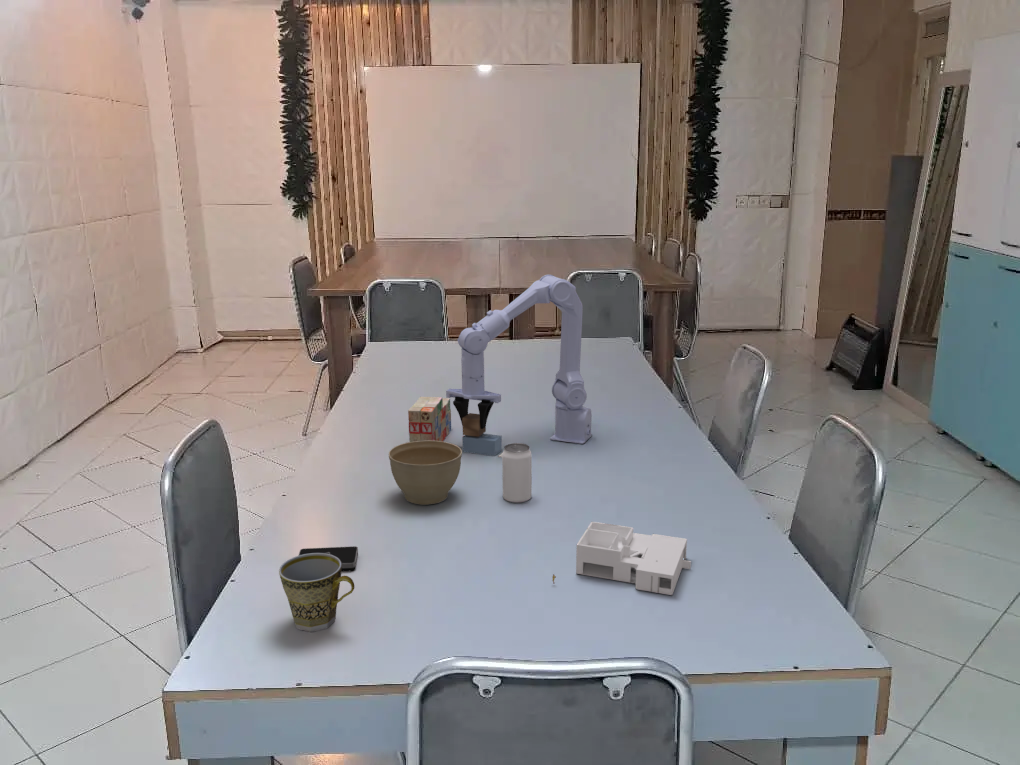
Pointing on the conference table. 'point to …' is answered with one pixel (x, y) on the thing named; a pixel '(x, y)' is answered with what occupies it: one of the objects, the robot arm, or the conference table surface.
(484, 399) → the robot arm
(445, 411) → the stack of blocks
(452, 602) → the conference table surface
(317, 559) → the ceramic cup
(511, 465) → the can
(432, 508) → the conference table surface
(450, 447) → the planter bowl
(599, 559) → the house
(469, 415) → the walnut brick
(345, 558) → the external hard drive
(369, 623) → the conference table surface
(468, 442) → the base brick
